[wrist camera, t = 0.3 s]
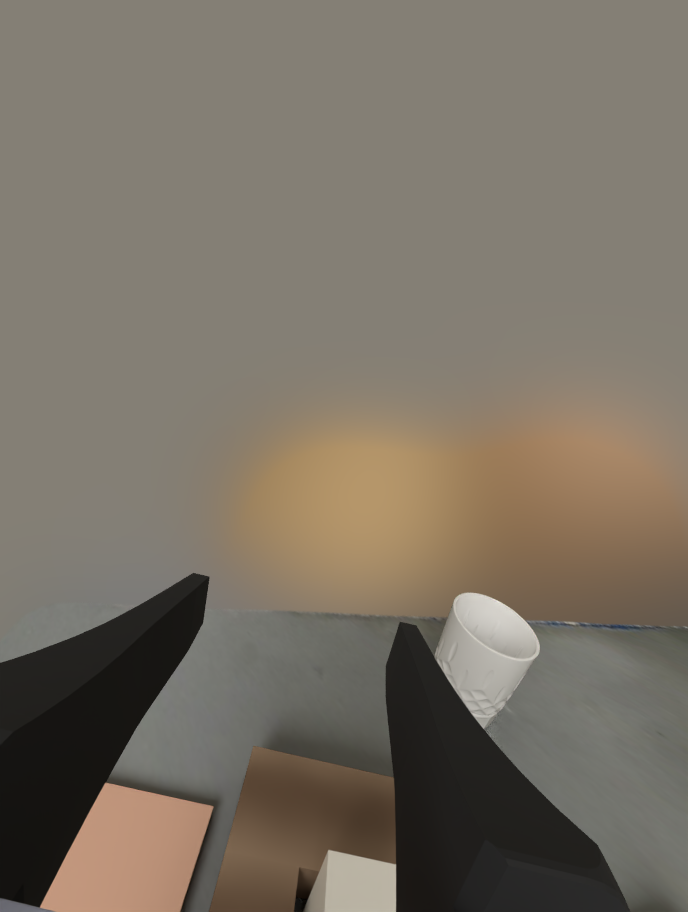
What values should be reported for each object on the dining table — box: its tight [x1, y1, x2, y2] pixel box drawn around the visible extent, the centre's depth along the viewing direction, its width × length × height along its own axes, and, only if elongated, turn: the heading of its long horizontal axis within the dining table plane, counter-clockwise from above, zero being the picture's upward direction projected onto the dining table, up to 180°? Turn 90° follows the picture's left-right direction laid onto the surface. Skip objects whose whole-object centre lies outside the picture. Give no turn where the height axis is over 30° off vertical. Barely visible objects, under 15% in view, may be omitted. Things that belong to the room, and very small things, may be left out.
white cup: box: [434, 593, 540, 729], centre depth 33 cm, size 8×8×10 cm
